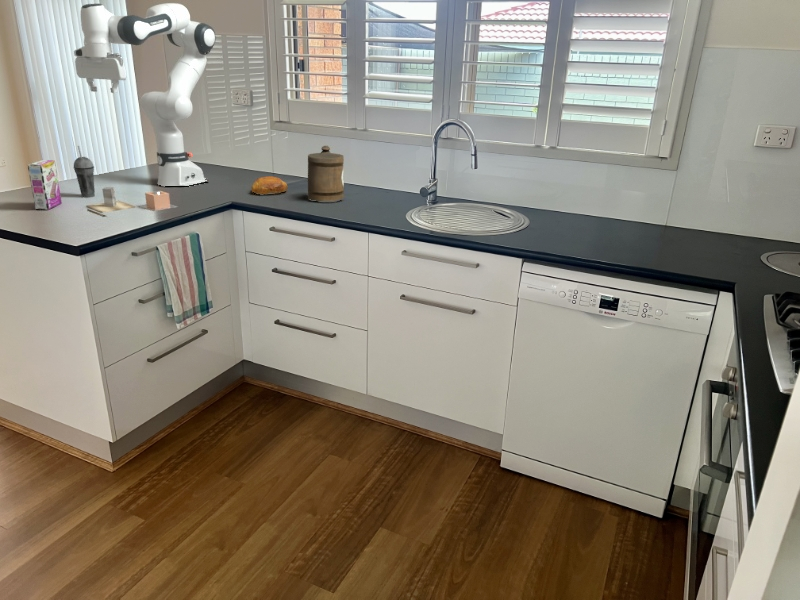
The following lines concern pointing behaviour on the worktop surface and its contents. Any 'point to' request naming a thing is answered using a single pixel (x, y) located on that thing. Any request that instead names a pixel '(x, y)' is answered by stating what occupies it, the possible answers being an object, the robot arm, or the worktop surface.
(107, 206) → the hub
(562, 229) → the worktop surface
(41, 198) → the candy bar box
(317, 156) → the wooden container
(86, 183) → the beverage cup
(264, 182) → the croissant
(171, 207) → the rod stand
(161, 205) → the collar
